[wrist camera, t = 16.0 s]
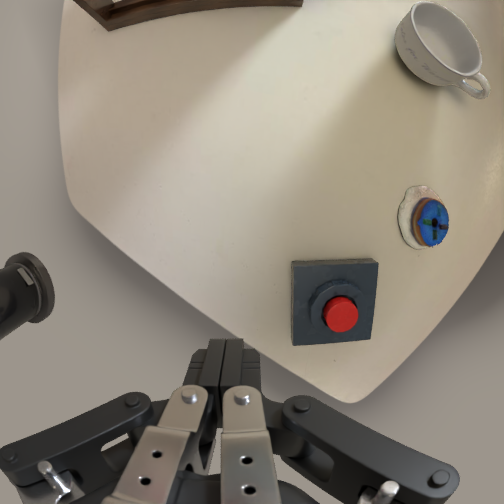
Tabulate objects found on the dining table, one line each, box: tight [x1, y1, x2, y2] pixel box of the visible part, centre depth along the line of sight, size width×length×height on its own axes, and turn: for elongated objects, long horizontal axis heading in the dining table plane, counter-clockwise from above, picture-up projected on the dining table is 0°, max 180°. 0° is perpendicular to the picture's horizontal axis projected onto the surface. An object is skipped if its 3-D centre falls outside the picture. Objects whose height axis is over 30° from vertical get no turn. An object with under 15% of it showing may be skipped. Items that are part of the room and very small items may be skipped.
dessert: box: [398, 186, 449, 250], centre depth 32 cm, size 8×7×6 cm
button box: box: [291, 258, 378, 346], centre depth 33 cm, size 10×10×4 cm
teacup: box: [395, 1, 491, 99], centre depth 24 cm, size 14×11×8 cm
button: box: [323, 296, 358, 332], centre depth 31 cm, size 4×4×2 cm
